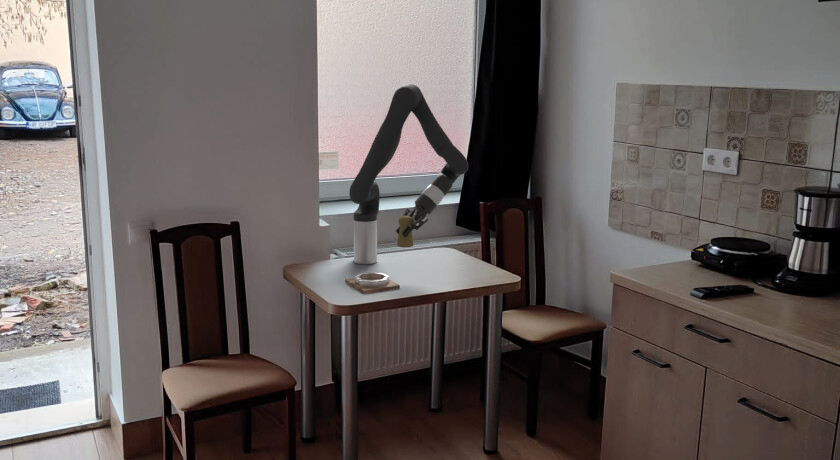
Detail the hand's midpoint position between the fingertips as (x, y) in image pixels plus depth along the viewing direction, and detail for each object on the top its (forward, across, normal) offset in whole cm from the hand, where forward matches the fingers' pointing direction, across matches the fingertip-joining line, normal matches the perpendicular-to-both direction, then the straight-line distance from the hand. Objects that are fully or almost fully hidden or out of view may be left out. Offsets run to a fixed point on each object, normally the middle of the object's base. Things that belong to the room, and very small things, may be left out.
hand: (400, 234), depth 284 cm
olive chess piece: (+2, 0, +5) cm, 5 cm away
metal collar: (+20, +3, +2) cm, 21 cm away
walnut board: (+21, +3, +2) cm, 22 cm away
